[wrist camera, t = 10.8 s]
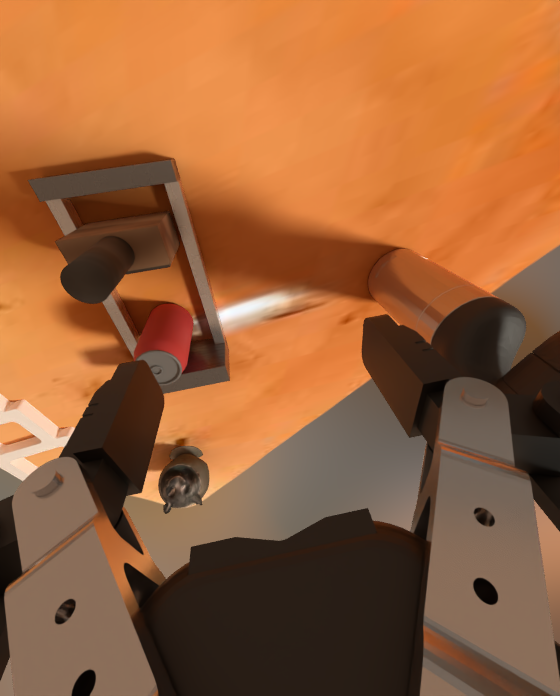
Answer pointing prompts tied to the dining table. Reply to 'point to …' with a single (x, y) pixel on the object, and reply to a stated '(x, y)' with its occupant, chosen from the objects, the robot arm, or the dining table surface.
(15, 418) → the holder
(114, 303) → the frame
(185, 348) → the beer can
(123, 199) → the dining table surface
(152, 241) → the sliding jaw
